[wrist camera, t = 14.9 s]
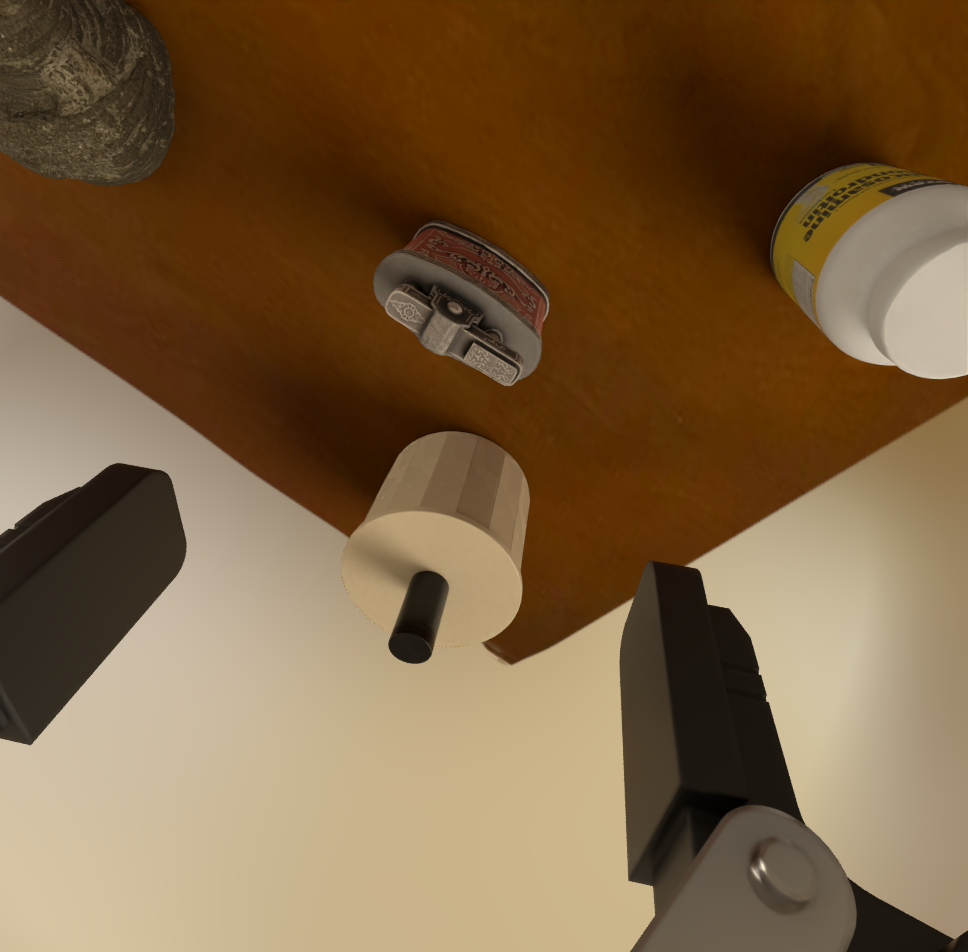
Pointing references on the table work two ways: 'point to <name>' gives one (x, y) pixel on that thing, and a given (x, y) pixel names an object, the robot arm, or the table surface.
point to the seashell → (84, 90)
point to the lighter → (466, 300)
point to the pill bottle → (881, 265)
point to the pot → (461, 484)
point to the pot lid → (431, 579)
